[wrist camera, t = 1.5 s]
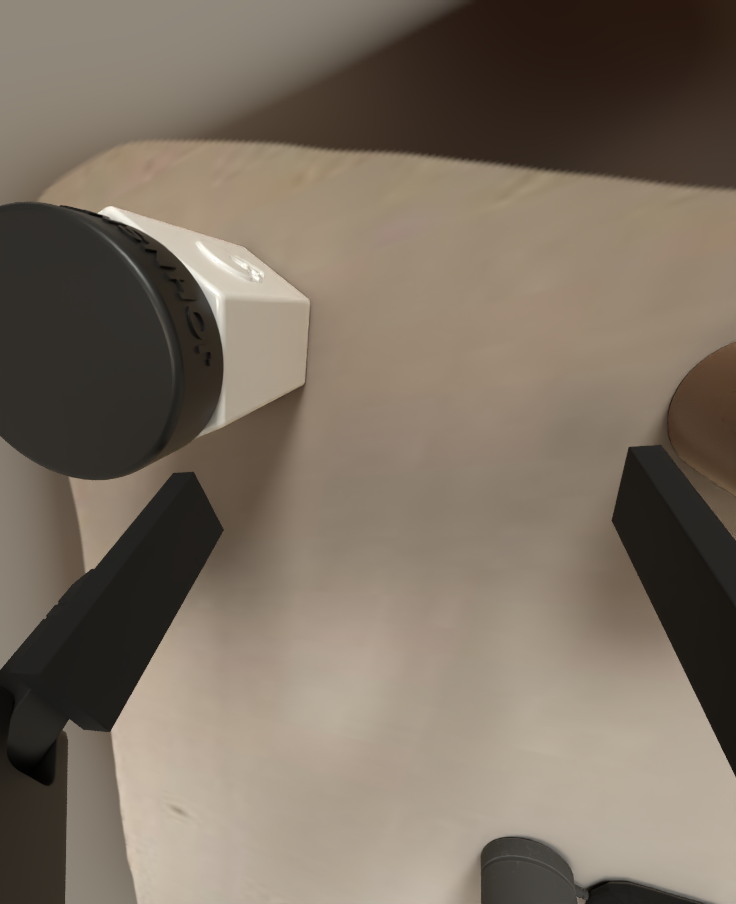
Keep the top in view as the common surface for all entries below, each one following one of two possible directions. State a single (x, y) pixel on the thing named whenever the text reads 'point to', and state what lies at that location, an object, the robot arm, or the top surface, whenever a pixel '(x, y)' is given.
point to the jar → (134, 337)
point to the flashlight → (524, 874)
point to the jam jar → (708, 418)
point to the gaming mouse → (628, 895)
